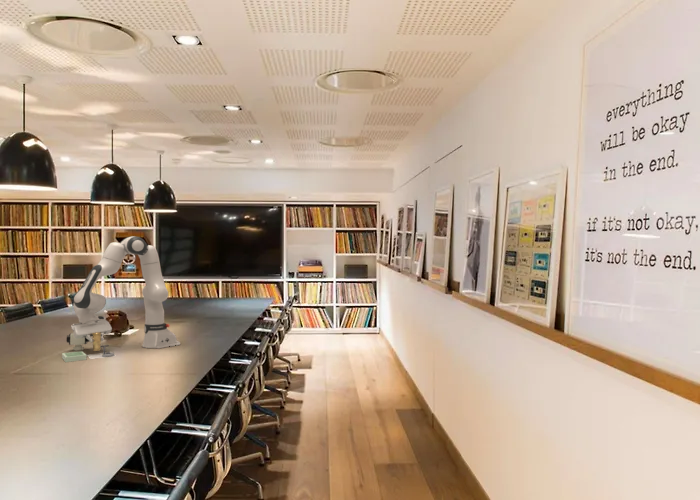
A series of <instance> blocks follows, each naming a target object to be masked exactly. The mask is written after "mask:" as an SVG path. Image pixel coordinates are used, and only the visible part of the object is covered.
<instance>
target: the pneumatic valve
mask: <svg viewBox="0 0 700 500" xmlns="http://www.w3.org/2000/svg"><path fill="white" fill-rule="evenodd" d="M66 343H68V345H69V346H70V345H71V346H72V345H73V347H72V351H74V352H78V351H83V350H84V348H85V347H84V346H83V345H86V344H88V343H91V342H90V340H88V339H86V337H85V338H79V339H76V338H75V337H74V334H73V332H70V333H69V334H68V335H66Z"/></svg>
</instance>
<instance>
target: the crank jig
mask: <svg viewBox="0 0 700 500" xmlns="http://www.w3.org/2000/svg"><path fill="white" fill-rule="evenodd" d="M109 346H110V345H109V344H104V345H103V344H101V346H100V347H101V348H102V349H103V351H102V352H100V353H99V352H98V353H92V354H86V355H87V357H88V358H89V359H90V360H94V359H105V358H113V357H117V355H116V354H115V353H114V352H112V351H106V347H109Z"/></svg>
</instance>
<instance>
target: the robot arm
mask: <svg viewBox="0 0 700 500" xmlns="http://www.w3.org/2000/svg"><path fill="white" fill-rule="evenodd" d="M127 255H133V256H134V255H137V256H138V258H139V260H140V269H141V273H142V278H143V280H144V282H145V285H144V287H143V288H142V291H141V293H142V296H143V297H142V298H143V304H144V313H145V315H144V316H145V319H144V320H145V322H144V327H143V330H144V331H143V332H144V337H143V343H142V345H141V346H142V347H143V348H147V349H164V348H170V347H175V345H176V346H180V345H181V342H180V341H178V340H177V336H176V334H175V333H174V332H173V331H171V330H170V329H168V328H170V327H171V326H170V324H169V323H165V310H164V306H163V302H165V301H167V299H168V297H169V291H168V289H167V285H166V283H165V280H164V278H163V273H162V268H161V263H160V257H159V253H158V251H157V249H156V247H155V246H154V245H149V244H148V243H147V242H146V241H145V240H144V239H143V238H142V237H140V236H135V235H134V236H133V235H132V236H128V237H125V238H123V239H122V240H121V241H120V242H115V241H114V242H110V243H109V244H108V246H107V247H106V249H105V251H104V252H103V255H102V256H101V259H100V260H99V262H98V263H97V264H96V265H94V266H93V267H92V269H90V271H89V273H88V275H87V276H86V278H85V280H84V281H83V283H82V284H81V286H80V288H79V290H78V291H77V292H76V293H75V294H74V296H73V305H72V306H73V311H74V313H75V315H76V317H77V319H78V322H79V323H73V324H71V326H70V328H71V330H72V333H73V334H74V337H75V338H76V339H79V338H85V337H86V339H88V340H90V342H89V343H93V342H94V339H93V335H92V333H95V332H101V342H102V341H104V340H105V338H104V335H108V334H110V333H111V332H112V330H113V328H112V325H111V324H110V322H109V321H108V320H107V317H106V316H103V315H96V313H99V312H100V311H101V310H102V309H104V308H105V307H106V304H107V300H106V297H105V295H103V294H99V293H94V292H92V290H93V289H94V288H95V285H96V284H97V282H98V280H99V279H101V278H102V277H105V276H112V275H114V274H116V273H117V272H118V271H119V270H120V268H121V266H122V263H123V262H124V261H123V260H124V258H125V257H126V256H127ZM169 346H170V347H169Z"/></svg>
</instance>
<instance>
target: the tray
mask: <svg viewBox="0 0 700 500" xmlns="http://www.w3.org/2000/svg"><path fill="white" fill-rule="evenodd" d="M87 355H88V354H86V353H85V352H84V351H83V350H79V351H71V352H70V351H69V352H62V353H61V358H62V360H63V361H64V362H65V363H70V362H72V363H73V362H79V361H87V357H88V356H87Z"/></svg>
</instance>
